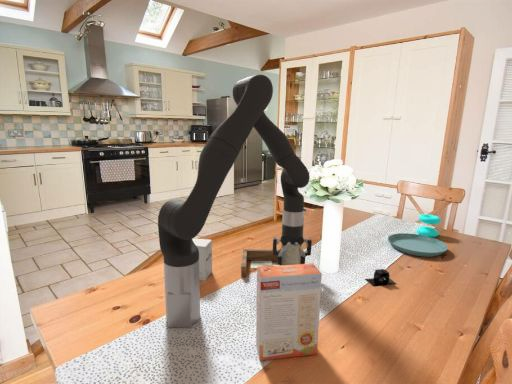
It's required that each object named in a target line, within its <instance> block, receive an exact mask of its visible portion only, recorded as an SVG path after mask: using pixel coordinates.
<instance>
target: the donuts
mask: <svg viewBox="0 0 512 384" xmlns="http://www.w3.org/2000/svg"><path fill="white" fill-rule="evenodd" d="M418 220H419V221H420V222H421V223H423V224H426V225H439V224H440V223H441V222H442V220H441V217H439V215H433V214H430V213H428V214H427V213H423V214H419V215H418ZM426 225H424V226H420V227H418V228H416V232H417V233H416V234H418V235H423V236H427V237H431V238H436V237H439V234H440V232H439V230H437V229H436V228H435V227H431V226H426Z"/></svg>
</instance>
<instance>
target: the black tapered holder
mask: <svg viewBox="0 0 512 384" xmlns="http://www.w3.org/2000/svg"><path fill="white" fill-rule="evenodd" d="M374 271H375V272H373V277H372V278H364V280H365V281H366V282H367V283H369V285H371V286H372V287H374V288H376V287H385V286H394V285H398V283H396V282H395V281H394V280H393V279H391V278H390V277H391V276H390V271H388V270H386V269H385V268H381V269H374Z"/></svg>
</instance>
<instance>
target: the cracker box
mask: <svg viewBox="0 0 512 384" xmlns="http://www.w3.org/2000/svg"><path fill="white" fill-rule="evenodd" d="M321 287H322V272H321V271H320V270H319V269H318V267H317V266H316V265H315V264H314V263H305V264H295V265H279V264H278V265H272V266H261V267H257V269H256V310H255V311H256V312H255V313H256V318H255V321H256V322H255V323H256V324H255V325H256V326H255V327H256V329H255V330H256V332H255V341H256V343H255V344H256V350H257V354H258V359H259V361H267V360H275V359H287V358H294V357H296V358H297V357H304V356H305V357H306V356H312V355H317V354H318V343H319V342H318V341H319V325H320V307H321V293H322V292H321V289H322V288H321Z"/></svg>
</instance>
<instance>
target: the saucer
mask: <svg viewBox="0 0 512 384" xmlns="http://www.w3.org/2000/svg"><path fill="white" fill-rule="evenodd" d="M387 240H388V242H389V244H390V245H391V246H392V247H393V248H394V249H395V250H397V251H399V252H402V253H404V254H408V255H412V256H416V257H424V258H425V257H426V258H427V257H430V258H431V257H437V256H440V255H443V254H444V253H445V252H446V251H447V250H448V245H447V244H446V243H444V242H443V241H442V240H439V239H437V238H435V237H427V236H423V235H420V234H418V233H409V232H407V233H399V232H398V233H393V234H390V235H389V236H388V237H387Z"/></svg>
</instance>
